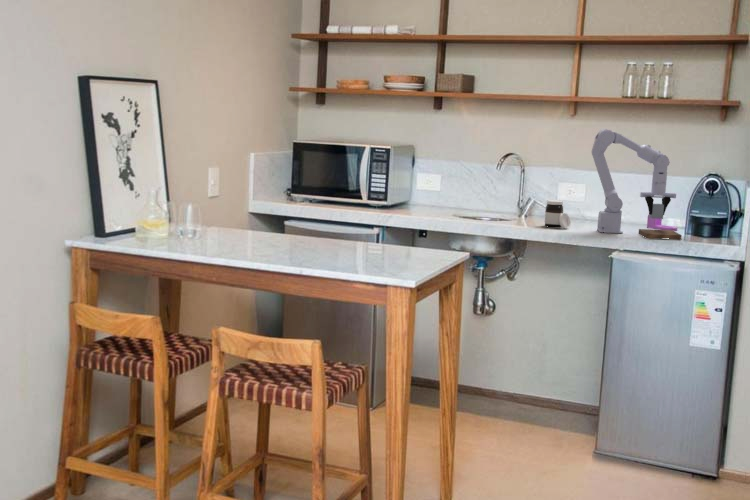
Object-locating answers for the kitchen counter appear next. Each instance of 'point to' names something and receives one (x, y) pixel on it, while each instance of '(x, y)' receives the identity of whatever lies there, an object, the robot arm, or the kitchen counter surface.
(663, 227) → the bracket
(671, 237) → the walnut board
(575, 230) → the kitchen counter surface
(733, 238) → the kitchen counter surface
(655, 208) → the slate block
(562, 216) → the spread jar
